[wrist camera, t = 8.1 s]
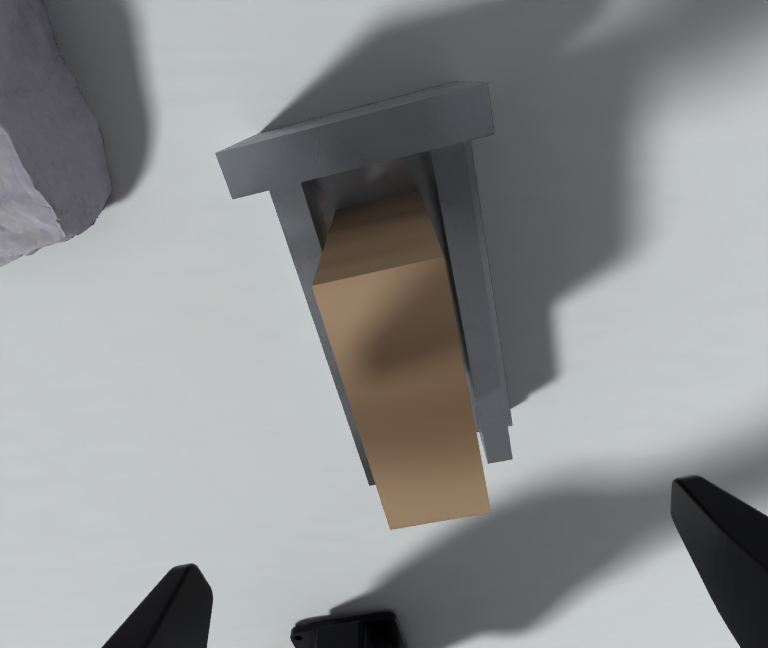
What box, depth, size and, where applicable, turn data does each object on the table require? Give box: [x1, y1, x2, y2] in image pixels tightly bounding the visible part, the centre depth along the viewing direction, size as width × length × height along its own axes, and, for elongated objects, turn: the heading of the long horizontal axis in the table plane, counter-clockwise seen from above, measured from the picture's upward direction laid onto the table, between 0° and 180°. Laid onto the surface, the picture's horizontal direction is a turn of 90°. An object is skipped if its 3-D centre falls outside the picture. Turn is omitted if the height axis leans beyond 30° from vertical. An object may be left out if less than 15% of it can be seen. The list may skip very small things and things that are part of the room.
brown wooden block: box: [312, 191, 491, 530], centre depth 16 cm, size 8×3×7 cm, turn 13°
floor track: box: [215, 81, 512, 486], centre depth 17 cm, size 14×7×5 cm, turn 13°
